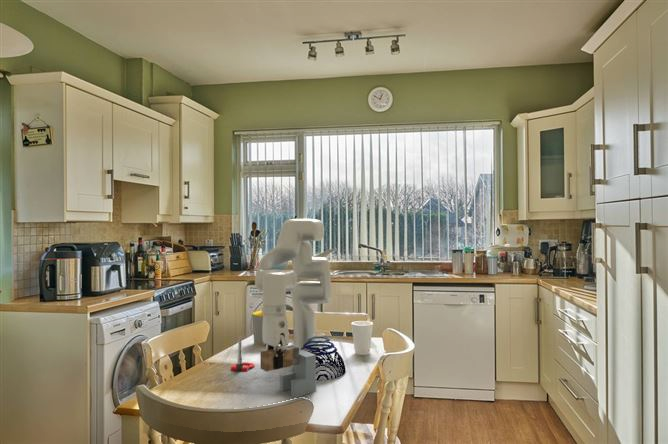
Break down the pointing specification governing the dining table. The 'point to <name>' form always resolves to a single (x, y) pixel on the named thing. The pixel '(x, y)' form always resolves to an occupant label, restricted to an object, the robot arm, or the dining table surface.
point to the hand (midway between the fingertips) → (274, 366)
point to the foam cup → (362, 336)
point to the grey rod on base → (240, 364)
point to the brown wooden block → (288, 358)
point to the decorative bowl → (327, 353)
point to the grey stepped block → (301, 376)
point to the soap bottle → (258, 327)
